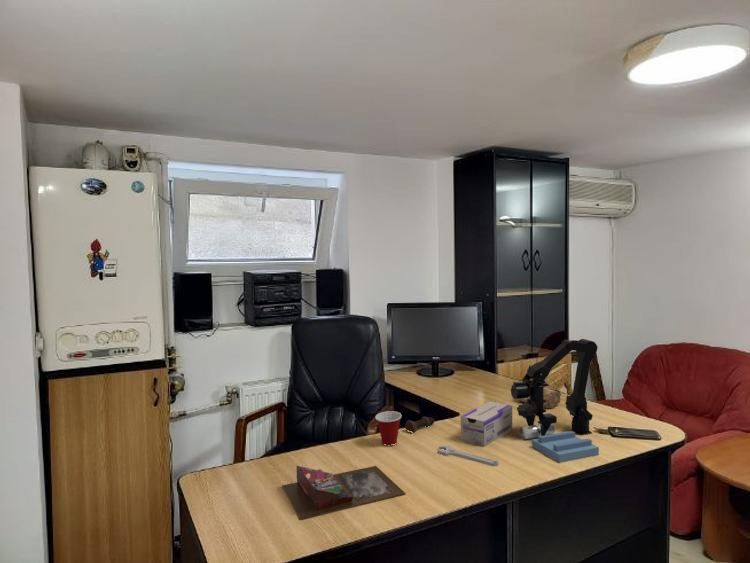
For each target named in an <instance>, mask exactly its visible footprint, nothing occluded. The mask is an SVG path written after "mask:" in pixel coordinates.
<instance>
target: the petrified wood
mask: <svg viewBox="0 0 750 563" xmlns="http://www.w3.org/2000/svg"><path fill="white" fill-rule="evenodd" d="M561 395H562V393H561V391H560V390H559V389H557V388H555V387H551V386H546V387H544V399H545V400H546V403H544V409H545V408H546V409H547V408H548V409H553V408H556V406H558V405H559V404H561ZM528 398H529V397H528ZM528 398H521V399H517V400H519V401H520V402H523V404H525V403H527V399H528Z"/></svg>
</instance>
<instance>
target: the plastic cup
mask: <svg viewBox="0 0 750 563" xmlns="http://www.w3.org/2000/svg"><path fill="white" fill-rule="evenodd" d="M374 418H375V419H376V421H377V422H376V423H377V425H378V429H379V434H380V439H381V443H382V445H383V444H386V445H391V444H395V443H396V444H397V443H398V436H399V429H400V423H401V419H402V414H401V412H398V411H396V410H395V411H394V410H387V411H382V412H379V413H377V414H376V415H375V417H374Z"/></svg>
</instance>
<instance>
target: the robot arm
mask: <svg viewBox="0 0 750 563" xmlns="http://www.w3.org/2000/svg"><path fill="white" fill-rule="evenodd" d="M572 351H573V352H574V351H575V353H576V356H577V366H576V369H575V370H576V371H575V377H574V383H573V388H572V393H571V394H569V395H568V394H567V395H566V400H565V402H564V406H565V408H566V410H567V412H568V413H569V415H570V416H572V418H571V428H569V431H573V432H575V434H577V435H579V436H583V435H588V434H592V433H593V431H591V430H590V421H592V419H593V414H592V413H591V412H590V411H589V410H588V401H587V399H586V390H587V386H588V385H587V384H588V380H589V373H590V367H591V362H592V361H593V360H594V358H595V357H596V355H597V352H598V344H597V343H596V342H595V341H594V340H593V341H592V340H589V339H586V338H580V339H579V340H573V339H572V340H570V339H564V340H562V342H561V344H559V345H558V346H557V347H556V348H555V349H554V350H552V352H550V353H549V354H548V355H547V356H545V358H544V359H542V360H540V361H538V362H536V363H534V364H532V365H531V366H529V367H528V368H527V370H526V374H525V375H524V376H523V378H522V379H521V381H514V382H512V385H511V387H510V394H511V396H512V399H514V400H518V399H521V398H528V397H529V398H528V399H527V403H523V404H519V405H518V407H517V406H516V412H517V413H518V416H520V417H522V418H524V419H525V422H526V424H527V426H532V425H535V421H536V417H538V421H537V423H538V424H540V427H541V436H544V435H545V434H546V432H547V431H548V429H549V427H550V426H551V424H556V423H557V422H558V417H557V416H556V415H555V414H552V413H550V412H548V413H547V409H545V408H544V403H546V400H545V399H544V387H546V386H548V387H550V385H549V384H548V383H547V382H546V379H547V377H548V376H549V375H550V374H551V370H552V369H553V368H554V367H555V366H556V365H557V364H559V363H560V362H561V361H562V360H563V359H564V358H565V357H566V356H567V355H568V354H569V353H571V352H572Z"/></svg>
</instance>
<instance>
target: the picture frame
mask: <svg viewBox="0 0 750 563" xmlns="http://www.w3.org/2000/svg"><path fill="white" fill-rule="evenodd" d="M308 474H309V478H308V477H307V475H308ZM281 488H282V489H283V491H284V493H285V495H286V497H287V498H288V500H289V502H290V504H291V506H292V508H293V509H294V511H295V514H296V515H297V518H298V519H299V521H303V520H307V519H311V518H316V517H319V516H320V517H321V516H324V515H328V514H332V513H337V512H340V511H345V510H348V509H349V510H350V509H353V508H357V507H361V506H364V505H368V504H373V503H377V502H381V501H385V500H389V499H394V498H397V497H402V496H406V492H405V491H404V490H402V489H401V488H400V487H399V485H398V484H396V483H395V482H394V481H393V480H392V479H391V478H390V477H388V475H386V473H384V472H383V471H382V470H381V469H380V468H379V467H377V465H373V466H368V467H367V466H366V467H364V468H359V469H353V470H348V471H344V472H339V473H334V474H333V473H330V472H326V471H323V470H322V469H320V468H319V469H314V468H309V467H304V466H299V465H296V482H292V483H287V484H283V485H281Z"/></svg>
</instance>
